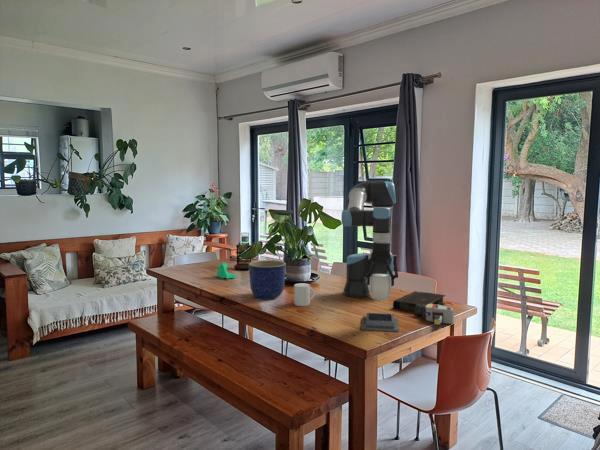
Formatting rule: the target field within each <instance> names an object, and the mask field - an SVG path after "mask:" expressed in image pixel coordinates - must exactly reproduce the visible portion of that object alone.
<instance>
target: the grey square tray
mask: <svg viewBox="0 0 600 450" xmlns="http://www.w3.org/2000/svg"><path fill="white" fill-rule="evenodd" d="M360 326H361V327H360V328H361V330H362V331H376V332H377V331H378V332H394V333H395V332H396V333H399V332H400V328H399V327H400V326H399V321H398V318H397V317H394V313H381V312H380V313H379V312H377V313H375V312H366V316H362V319H361V325H360Z"/></svg>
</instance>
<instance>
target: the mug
mask: <svg viewBox="0 0 600 450" xmlns="http://www.w3.org/2000/svg"><path fill="white" fill-rule="evenodd" d="M315 293H316V292H315V291H314V289H313V288H312V286H311V284H309V283H304V282H303V283H301V282H300V283H295V284H294V285H293V294H294V295H293V304H294V306H297V307H307V306H309V305H310V304H311V303H310V302H311V301H312V300H313V299H314V298H315V297H316V294H315Z"/></svg>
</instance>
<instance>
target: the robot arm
mask: <svg viewBox="0 0 600 450" xmlns="http://www.w3.org/2000/svg"><path fill="white" fill-rule="evenodd" d="M396 198H397V197H396V189H395V184H394V182H393V181H386V180H384V181H363V182H359V183H357V184H356V185H354V186H353V187H351V189H350V191H349V193H348V200H349V202H348V206H347V209H344V210H342V211H341V225H342V226H344V227H372V245H371V246H372V249H371V253H370V254H368V253H365V252H364V253H353V254H350V255H348V256H347V257H346V278H345V279H346V281H345V284H344V287H343V290H342V291H343V296H345V297H348V298H357V299H358V298H359V299H360V298H366V297H369V296H371V275H373V274H386V275H389V276H390V285H389V295H391V294H392V287H394V285H395V279H398V278H399V273H398V266H397V255H396V254H393V253H392V252H391V251H390V249H391V247H390V246H391V245H390V244H391V242H390V241H391V209H392V208H393V207H394V204H396V203H397V199H396ZM365 204H371V207H372V209H371V210H370V209H366V210H365V209H364V206H365Z"/></svg>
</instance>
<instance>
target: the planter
mask: <svg viewBox="0 0 600 450" xmlns="http://www.w3.org/2000/svg"><path fill="white" fill-rule="evenodd" d="M248 263H249V262H248ZM286 265H287V263H286V262H285V261H281V260H270V259H265V260H264V259H263V260H254V261H251V263H249V271H248V275H249V276H248V277H249V285H250V290H251V293H252V294H253V295H254V297H256V298H258V299H262V300H272V299H276V298H278V297H280V296H281V295H282V293H283V291H284V289H285V279H286Z"/></svg>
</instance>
